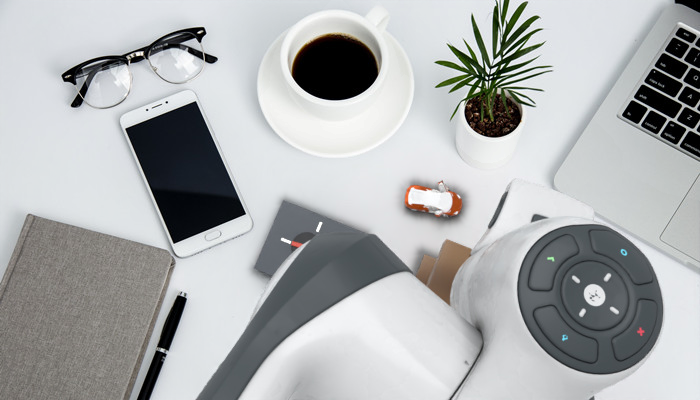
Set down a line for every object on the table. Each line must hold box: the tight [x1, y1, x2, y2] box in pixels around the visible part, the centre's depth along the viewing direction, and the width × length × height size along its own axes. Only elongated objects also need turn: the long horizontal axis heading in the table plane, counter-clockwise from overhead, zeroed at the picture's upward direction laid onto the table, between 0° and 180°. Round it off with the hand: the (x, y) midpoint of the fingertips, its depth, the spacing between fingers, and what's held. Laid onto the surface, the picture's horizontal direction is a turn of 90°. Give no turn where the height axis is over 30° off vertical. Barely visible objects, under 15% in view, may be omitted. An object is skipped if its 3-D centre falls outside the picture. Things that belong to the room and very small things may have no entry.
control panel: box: [253, 199, 365, 277], centre depth 83 cm, size 10×12×3 cm
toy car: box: [404, 179, 463, 219], centre depth 84 cm, size 5×8×3 cm, turn 78°
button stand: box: [415, 238, 473, 306], centre depth 71 cm, size 11×11×24 cm
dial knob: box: [291, 232, 315, 253], centre depth 80 cm, size 4×4×4 cm
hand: (481, 305), depth 57 cm, fingers closed
